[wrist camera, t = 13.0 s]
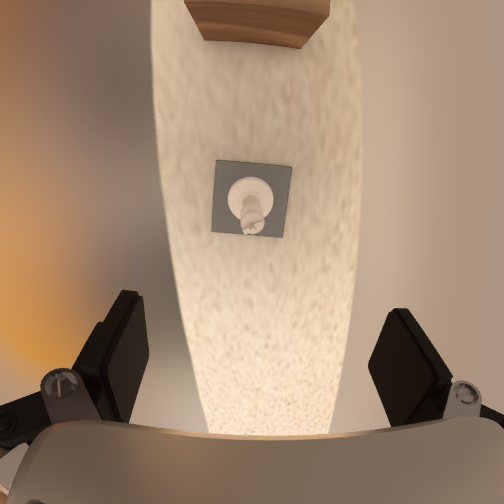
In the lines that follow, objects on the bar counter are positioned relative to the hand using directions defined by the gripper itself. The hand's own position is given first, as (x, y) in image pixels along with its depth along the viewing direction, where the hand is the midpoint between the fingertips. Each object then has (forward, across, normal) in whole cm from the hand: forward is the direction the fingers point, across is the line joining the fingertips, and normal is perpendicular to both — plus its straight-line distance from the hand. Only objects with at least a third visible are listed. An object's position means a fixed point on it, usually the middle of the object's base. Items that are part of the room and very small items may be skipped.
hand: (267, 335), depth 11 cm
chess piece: (+24, 0, +2) cm, 24 cm away
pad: (+24, 0, +2) cm, 25 cm away
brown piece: (+25, +2, -18) cm, 31 cm away
